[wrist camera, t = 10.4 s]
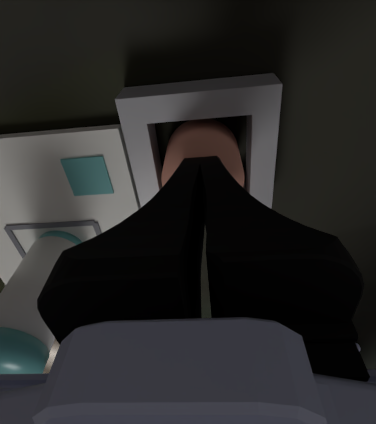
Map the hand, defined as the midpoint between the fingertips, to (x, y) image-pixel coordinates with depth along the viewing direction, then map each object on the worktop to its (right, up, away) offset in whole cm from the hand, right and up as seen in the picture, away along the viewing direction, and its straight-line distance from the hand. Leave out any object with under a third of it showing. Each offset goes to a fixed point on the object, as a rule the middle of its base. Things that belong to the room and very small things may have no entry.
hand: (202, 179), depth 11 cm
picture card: (-8, -4, +7) cm, 11 cm away
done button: (0, +1, +2) cm, 2 cm away
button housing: (0, +2, +2) cm, 3 cm away
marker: (-8, -3, +6) cm, 10 cm away
